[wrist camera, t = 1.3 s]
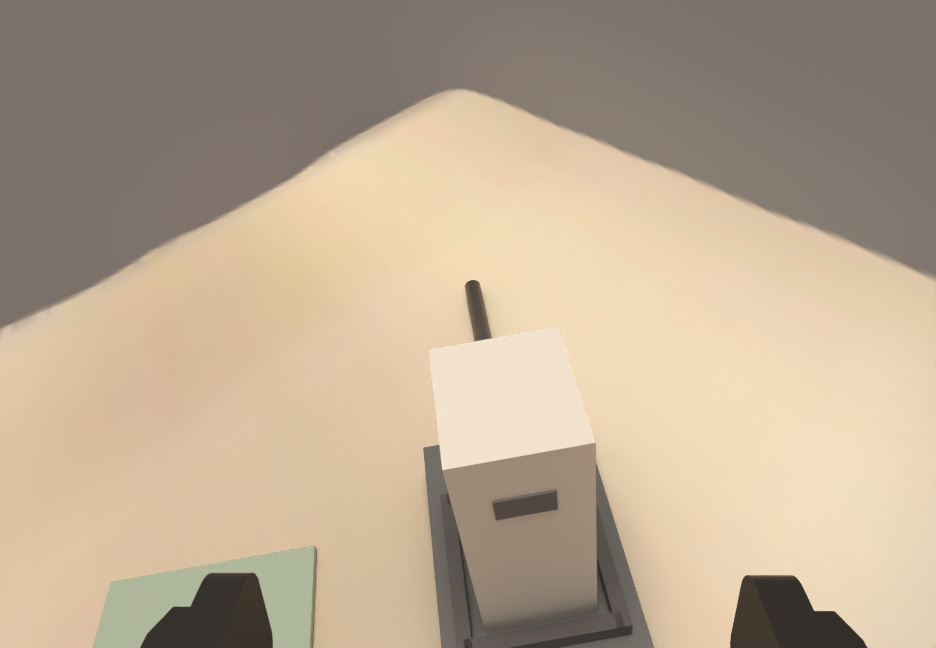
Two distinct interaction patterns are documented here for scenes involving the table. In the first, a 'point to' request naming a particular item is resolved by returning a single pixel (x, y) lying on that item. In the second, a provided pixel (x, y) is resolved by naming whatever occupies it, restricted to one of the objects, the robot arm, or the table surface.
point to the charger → (519, 475)
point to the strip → (543, 643)
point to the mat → (153, 596)
